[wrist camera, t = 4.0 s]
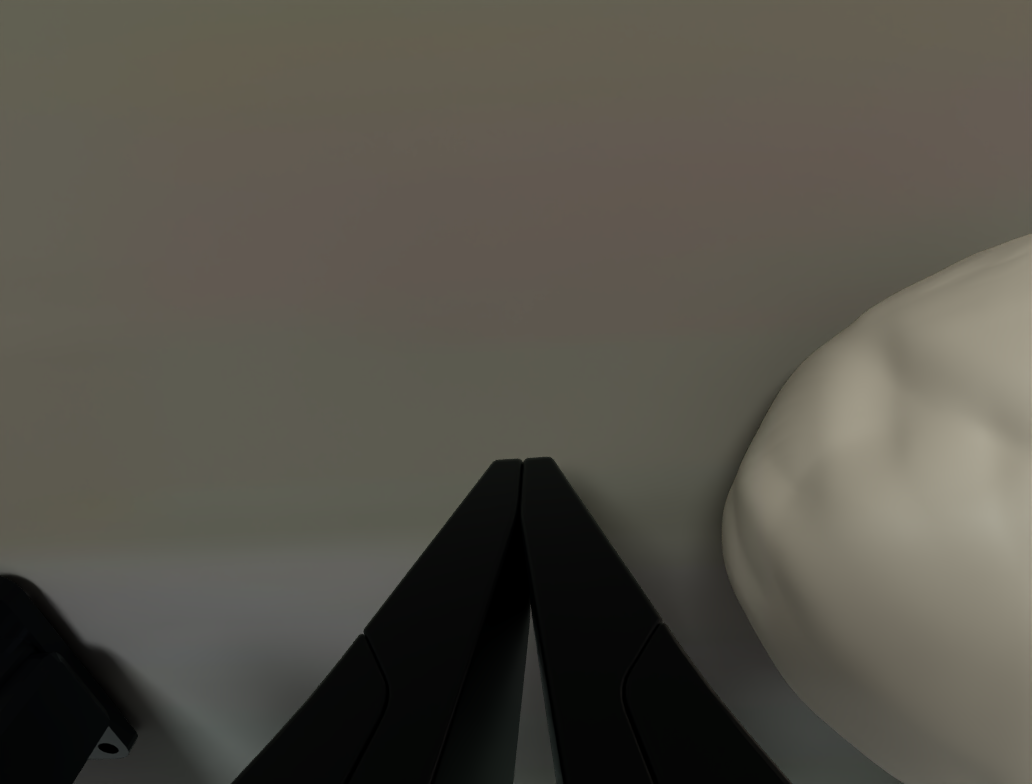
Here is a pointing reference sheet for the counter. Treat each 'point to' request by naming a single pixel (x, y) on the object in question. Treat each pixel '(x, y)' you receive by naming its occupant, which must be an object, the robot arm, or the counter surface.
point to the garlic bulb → (904, 527)
